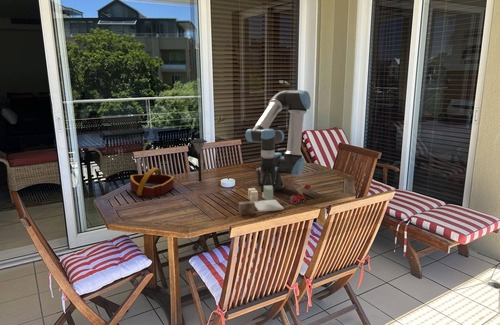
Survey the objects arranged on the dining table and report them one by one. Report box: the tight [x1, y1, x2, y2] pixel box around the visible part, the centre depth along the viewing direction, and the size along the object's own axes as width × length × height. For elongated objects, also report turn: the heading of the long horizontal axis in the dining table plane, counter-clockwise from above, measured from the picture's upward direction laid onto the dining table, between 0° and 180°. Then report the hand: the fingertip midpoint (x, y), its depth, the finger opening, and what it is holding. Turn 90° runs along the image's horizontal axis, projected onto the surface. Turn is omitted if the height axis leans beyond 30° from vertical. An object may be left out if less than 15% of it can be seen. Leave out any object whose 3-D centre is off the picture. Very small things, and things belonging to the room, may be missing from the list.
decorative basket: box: [129, 167, 175, 198], centre depth 242 cm, size 34×29×15 cm
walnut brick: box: [238, 200, 256, 216], centre depth 200 cm, size 8×4×6 cm, turn 104°
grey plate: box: [254, 199, 284, 213], centre depth 210 cm, size 15×14×1 cm
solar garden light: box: [189, 138, 208, 182], centre depth 261 cm, size 12×12×30 cm
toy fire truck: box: [289, 183, 311, 205], centre depth 217 cm, size 3×14×10 cm, turn 126°
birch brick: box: [247, 187, 259, 202], centre depth 222 cm, size 8×4×6 cm, turn 14°
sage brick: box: [264, 185, 274, 200], centre depth 209 cm, size 8×4×6 cm, turn 14°
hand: (267, 197), depth 209 cm, fingers closed on sage brick, 4 cm apart
